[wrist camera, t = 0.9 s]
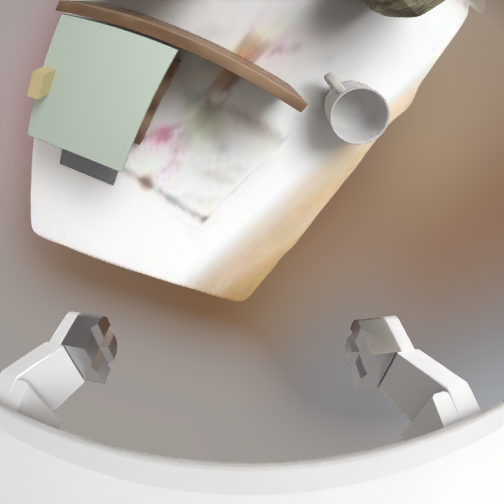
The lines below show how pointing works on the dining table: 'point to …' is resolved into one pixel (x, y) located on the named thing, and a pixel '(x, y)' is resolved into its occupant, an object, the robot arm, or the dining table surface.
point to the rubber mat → (88, 166)
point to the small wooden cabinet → (187, 43)
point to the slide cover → (96, 88)
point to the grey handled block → (402, 7)
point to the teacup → (355, 111)
